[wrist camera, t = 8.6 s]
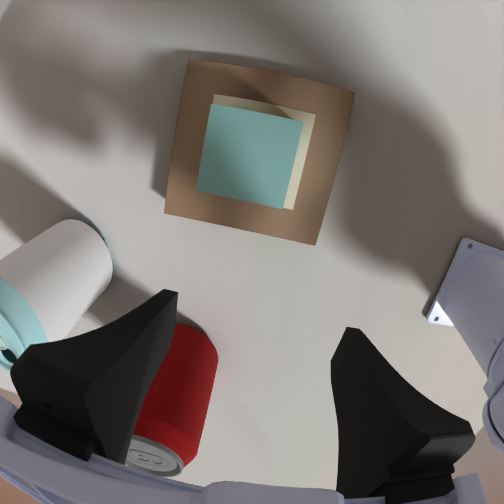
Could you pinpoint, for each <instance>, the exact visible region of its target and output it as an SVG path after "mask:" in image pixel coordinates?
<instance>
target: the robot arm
mask: <svg viewBox="0 0 504 504" xmlns="http://www.w3.org/2000/svg"><path fill="white" fill-rule="evenodd" d="M470 243H471V245H470V247H468V245H469V244H470ZM177 299H178V292H175V291H170V290H166V289H163V290H162V291H160V292H159V293H157V294H156V295H154V296H153V297H152V298H150V299H149V300H147V301H146V302H145V303H143V304H142V305H140V306H139V307H137V308H135V309H134V310H132V311H131V312H129V313H128V314H126V315H124V316H122V317H121V318H119V319H117V320H115V321H113V322H111V323H109V324H107V325H105V326H103V327H100V328H98V329H96V330H93V331H90V332H87V333H84V334H81V335H78V336H75V337H71V338H67V339H63V340H58V341H53V342H46V343H39V344H30V345H29V346H28V348H27V349H26V350H25V351H24V352H23V353H22V354H21V356H20V357H19V358H18V359H17V360H16V362H15V363H14V364H13V365H12V367H11V369H10V375H11V379H12V382H13V384H14V386H15V388H16V391H17V393H18V395H19V397H20V399H21V401H22V403H23V404H22V405H21V406H20V408H19V409H18V408H17V407H16V406H15V405H14V404H13V403H11V402H10V401H8V400H7V399H5V398H4V397H2V396H0V476H2V477H3V478H5V479H6V480H7V481H9V482H10V483H12V484H13V485H15V486H16V487H18V488H19V489H21V490H22V491H24V492H25V493H27V494H28V495H30V496H32V497H33V498H35V499H37V500H38V501H40V502H42V503H43V504H487V502H486V499H485V496H484V492H483V489H482V486H481V483H480V480H479V477H478V474H477V473H471V474H467V475H463V476H460V477H457V478H455V479H453V480H452V477H451V474H452V473H454V471H455V469H454V466H453V464H454V463H455V462H456V461H457V460H459V458H461V457H462V456H463V455H464V454H465V453H466V452H467V451H468V450H469V449H470V448H471V447H472V445H473V443H474V442H475V435H474V433H473V430H472V428H471V425H470V423H469V422H468V421H466V420H464V419H462V418H460V417H458V416H456V415H454V414H452V413H450V412H448V411H446V410H445V409H443V408H441V407H440V406H438V405H436V404H435V403H433V402H432V401H431V400H429V399H428V398H426V397H425V396H424V395H422V394H421V393H420V392H419V391H417V390H416V389H415V388H414V387H413V386H411V385H410V384H409V383H408V382H407V381H406V380H405V379H404V378H403V377H402V376H401V375H400V374H399V373H398V372H397V371H396V370H395V369H394V368H393V367H392V366H391V365H390V364H389V363H388V361H387V360H386V359H385V358H384V357H383V356H382V354H381V353H380V352H379V351H378V350H377V349H376V347H375V346H374V345H373V344H372V342H371V341H370V340H369V339H368V338H367V337H366V335H365V334H364V333H363V332H362V331H361V330H360V329H357V328H351V327H346V330H345V332H344V334H343V336H342V338H341V341H340V343H339V345H338V347H337V349H336V351H335V353H334V355H333V357H332V359H331V384H332V390H333V397H334V403H335V409H336V415H337V422H338V437H339V454H338V475H337V486H336V491H335V490H330V489H322V488H296V487H282V486H271V485H262V484H253V483H246V482H233V481H222V482H215V483H211V484H209V485H208V486H206V487H202V486H197V485H193V484H188V483H184V482H180V481H175V480H172V479H168V478H164V477H161V476H157V475H154V474H150V473H147V472H144V471H141V470H138V469H135V468H132V467H129V466H126V465H125V461H126V457H127V454H128V450H129V446H130V443H131V439H132V436H133V432H134V429H135V426H136V423H137V420H138V416H139V413H140V410H141V408H142V405H143V402H144V399H145V396H146V394H147V391H148V389H149V387H150V385H151V383H152V381H153V379H154V377H155V375H156V373H157V371H158V369H159V367H160V365H161V363H162V361H163V359H164V357H165V355H166V353H167V351H168V349H169V346H170V343H171V340H172V337H173V334H174V331H175V322H176V310H177ZM435 317H437V318H435ZM434 318H435V319H434ZM426 319H427V321H428V322H429V323H435V324H442V325H448V326H455V328H456V329H457V330H458V332H459V333H460V335H461V336H462V338H463V340H464V341H465V343H466V344H467V346H468V347H469V349H470V350H471V352H472V354H473V355H474V357H475V358H476V360H477V362H478V363H479V365H480V366H481V368H482V370H483V371H484V373H485V375H486V376H487V378H488V380H487V382H486V384H485V385H484V387H483V389H484V391H485V393H486V394H487V396H488V398H489V399H488V400H487V401H486V403H485V405H484V407H483V412H482V417H483V424H484V428H485V431H486V434H487V436H488V438H489V440H490V442H491V443H492V444H493V446H494V447H495V448H496V449H497V450H498V451H499V452H501V453H502V454H504V251H502V250H499V249H496V248H494V247H491V246H488V245H485V244H483V243H480V242H477V241H474V240H472V239H469V238H463V239H462V240H461V241H460V243H459V246H458V248H457V251H456V253H455V256H454V258H453V261H452V263H451V265H450V268H449V270H448V272H447V274H446V277H445V279H444V281H443V283H442V285H441V287H440V290H439V292H438V294H437V296H436V298H435V300H434V302H433V304H432V306H431V308H430V310H429V312H428V314H427V316H426Z"/></svg>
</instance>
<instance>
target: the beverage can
mask: <svg viewBox="0 0 504 504" xmlns="http://www.w3.org/2000/svg"><path fill="white" fill-rule="evenodd" d="M217 364H218V354H217V351H216V349H215V347H214V345H213V344H212V342H211V341H210V340H209V339H208V338H207V337H206V336H204V335H203V334H202V333H200V332H199V331H197V330H195V329H193V328H190V327H187V326H184V325H178V324H175V331H174V334H173V337H172V340H171V343H170V346H169V349H168V351H167V353H166V355H165V357H164V359H163V361H162V363H161V365H160V367H159V369H158V371H157V373H156V375H155V377H154V379H153V381H152V383H151V385H150V387H149V389H148V391H147V394H146V396H145V399H144V402H143V405H142V408H141V410H140V413H139V416H138V420H137V423H136V426H135V429H134V432H133V436H132V439H131V443H130V446H129V450H128V454H127V457H126V461H125V465H127V466H129V467H132V468H135V469H138V470H141V471H144V472H147V473H150V474H154V475H157V476H161V477H173V476H177V475H178V474H180V473H181V472H182V470H183V468H184V467H185V466H186V465H187V464H189V463H190V462H191V461H192V460H193V459H194V458H195V456H196V455H197V451H198V447H199V443H200V439H201V435H202V431H203V427H204V422H205V418H206V414H207V409H208V405H209V401H210V396H211V392H212V388H213V383H214V378H215V374H216V369H217Z"/></svg>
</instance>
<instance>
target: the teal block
mask: <svg viewBox="0 0 504 504" xmlns="http://www.w3.org/2000/svg"><path fill="white" fill-rule="evenodd" d="M303 123H304V122H300V121H296V120H292V119H288V118H283V117H279V116H274V115H270V114H265V113H260V112H255V111H250V110H245V109H239V108H234V107H228V106H222V105H215V104H211V108H210V113H209V118H208V123H207V129H206V134H205V139H204V145H203V150H202V156H201V162H200V168H199V174H198V180H197V186H196V191H199V192H204V193H209V194H214V195H219V196H224V197H228V198H233V199H238V200H243V201H247V202H252V203H256V204H261V205H265V206H270V207H274V208H279V209H283V206H284V202H285V198H286V194H287V189H288V185H289V181H290V177H291V173H292V169H293V165H294V161H295V156H296V152H297V148H298V144H299V140H300V135H301V131H302V127H303Z"/></svg>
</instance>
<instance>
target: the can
mask: <svg viewBox="0 0 504 504" xmlns="http://www.w3.org/2000/svg"><path fill="white" fill-rule="evenodd" d="M112 271H113V268H112V260H111V256H110V253H109V250H108V248H107V246H106V244H105V242H104V241H103V239H102V238H101V237H100V235H99V234H98V233H97V232H96V231H95V230H94V229H93V228H91V227H90V226H89V225H87V224H85V223H83V222H81V221H78V220H74V219H67V220H63V221H61V222H59V223H57V224H55V225H54V226H52V227H50V228H49V229H47V230H46V231H44V232H42V233H41V234H39V235H38V236H36V237H34V238H33V239H31V240H30V241H28V242H27V243H25V244H24V245H22V246H21V247H19V248H18V249H16V250H15V251H13V252H12V253H10V254H9V255H7V256H6V257H4V258H3V259H1V260H0V366H1V367H3V368H4V369H6V370H8V371H10V369H11V367H12V365H13V364H14V363H15V362H16V360H17V359H18V358H19V357H20V356H21V354H22V353H23V352H24V351H25V350H26V349H27V348H28V346H29V345H30V344H39V343H46V342H53V341H58V340H63V339H64V338H65V336H66V335H67V334H68V333H69V332H70V330H71V329H72V328H73V327H74V325H75V324H76V323H77V322H78V321H79V319H80V318H81V317H82V316H83V315H84V313H85V312H86V311H87V310H88V309H89V308H90V306H91V305H92V304H93V303H94V302H95V301H96V299H97V298H98V297H99V296H100V295H101V294H102V292H103V291H104V290H105V289H106V288H107V287H108V285H109V283H110V281H111V278H112Z"/></svg>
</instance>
